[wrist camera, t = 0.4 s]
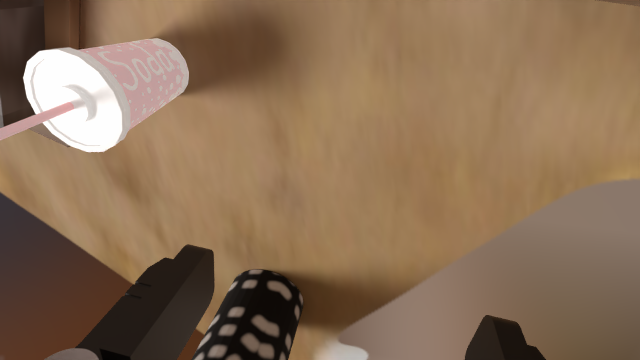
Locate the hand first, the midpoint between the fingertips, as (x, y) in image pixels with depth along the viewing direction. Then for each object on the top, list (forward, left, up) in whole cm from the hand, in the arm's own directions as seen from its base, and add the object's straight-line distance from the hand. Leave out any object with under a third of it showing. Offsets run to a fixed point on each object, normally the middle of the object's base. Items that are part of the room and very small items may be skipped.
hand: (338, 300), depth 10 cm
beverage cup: (+5, -16, -19) cm, 25 cm away
